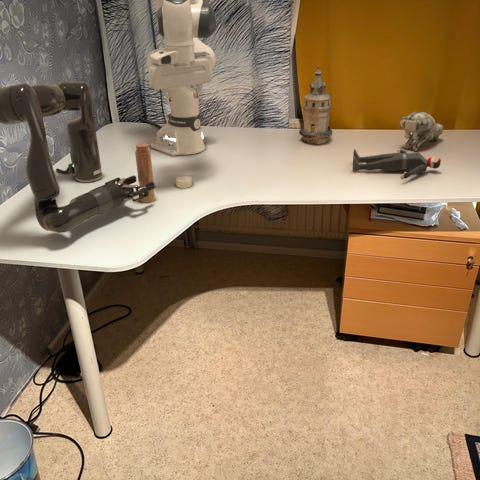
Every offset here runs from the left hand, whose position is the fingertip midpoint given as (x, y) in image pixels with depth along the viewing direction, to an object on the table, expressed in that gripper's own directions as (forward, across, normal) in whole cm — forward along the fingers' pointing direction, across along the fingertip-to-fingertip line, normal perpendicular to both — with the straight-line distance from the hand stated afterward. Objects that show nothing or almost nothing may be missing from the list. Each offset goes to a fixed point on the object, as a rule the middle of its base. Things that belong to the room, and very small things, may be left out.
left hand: (144, 181), depth 169 cm
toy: (+71, -52, +6) cm, 89 cm away
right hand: (+18, -2, -22) cm, 28 cm away
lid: (+16, -1, +5) cm, 17 cm away
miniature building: (+82, -13, +6) cm, 83 cm away
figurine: (+101, -50, +6) cm, 113 cm away
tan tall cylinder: (+1, 0, +6) cm, 7 cm away
